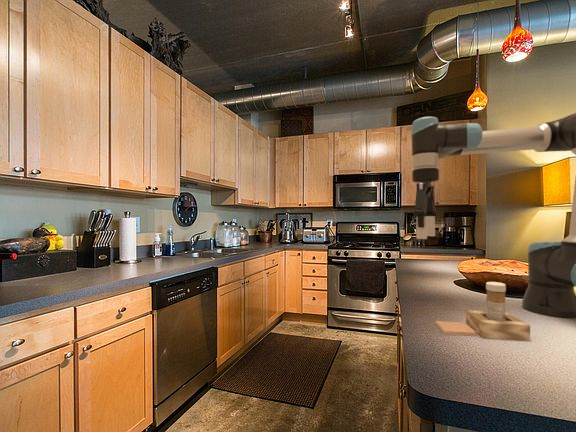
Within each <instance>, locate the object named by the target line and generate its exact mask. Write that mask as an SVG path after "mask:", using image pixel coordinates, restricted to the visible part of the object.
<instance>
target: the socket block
mask: <svg viewBox="0 0 576 432" xmlns="http://www.w3.org/2000/svg"><path fill="white" fill-rule="evenodd" d="M465 313H466V314H465V315H466V316H465V318H466V322H465V323H466V324H467V325H468V326H469V327H471V328H472V329H473V330H474V331H475V332H476V333H477V334H478V335H479V336H480V337H481V338H482V339H490V340H509V341H527V342H531V325H530V324H529V323H527V322H525V321H524V320H522V319H520V318H518V317H517V316H515V315H513V314H511V313H510V312H508V311H506V321H494V320H488V319H487V317H486V314H487V313H486V310H469V309H467V310H466V311H465Z"/></svg>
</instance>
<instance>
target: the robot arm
mask: <svg viewBox="0 0 576 432" xmlns="http://www.w3.org/2000/svg"><path fill="white" fill-rule="evenodd" d="M439 123H440V122H439V119H438V117H436V116H432V115H431V116H423V117H419V118H417V119H415V120H414V121H413V122H412V123H411V153H412V155H411V159H410V161H409V162H410V163H412V164H411V166H412V169H413V170H412V173H411V174H412V177H411V178H412V182H413V183H416V192H415V203H414V212H413V213H412V215H413V217H416V219H415V220H416V222H415V223H416V224H415V225H416V230H415V231H416V240H427V239H428V237H436V219H435V218H436V217H437V216H438V212H437V211H436V202H435V191H434V188H435V186H434V185H432V182H433V183H434V182H438V181H439V180H440V171H439V168H438V167H440V159H444V158H447V157H455V156H456V157H457V156H465V155H478V154H479V155H480V154H490V153H507V152H518V151H519V152H520V151H530V150H531V151H532V150H533V151H534V152H537V153H546V152H570V151H571V153H572V154H574V155H575V156H576V112H574V113H571V114H569V115H567V116H564V117H562V118H558V119H555V120H552V121H546V122H539V123H537V124H536V125H535V126H526V127H516V128H515V127H514V128H505V129H504V128H503V129H502V128H501V129H493V130H490V129H489V130H483V128H482V126H481V125H480V124H479V123H476V122H466V123H465V122H463V123H446V124H445V123H444V124H443V123H441V124H439ZM573 187H574V188H573V196H572V206H571V212H570V213H571V215H570V222H569V229H568V231H569V233H568V235H567V236H566V237H564V238H563V239H561V241H539V242H536V241H535V242H532V243H530V244H529V245H528V251H527V256H528V258H527V259H528V286H527V288H526V290H525V293H524V295H523V298H522V301H521V302H522V304H521V305H522V306H521V307H522V308H523V309H525V310H527V311H529V312H533V313H535V314H540V315H541V314H542V315H545V316H551V317H557V318H558V317H559V318H576V292H575V287H576V176H575V177H574V186H573Z"/></svg>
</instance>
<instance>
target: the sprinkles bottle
mask: <svg viewBox="0 0 576 432" xmlns="http://www.w3.org/2000/svg"><path fill="white" fill-rule="evenodd" d="M485 290H486V308H485V309H486V310H485V311H486V313H487V314H486V317H487V319H488V320H494V321H506V312H507V310H506V309H507V308H506V307H507V306H506V293H507V292H506V291H507V286H506V284H505V283H503V282H498V281H487V282H486V283H485Z"/></svg>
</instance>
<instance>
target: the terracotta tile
mask: <svg viewBox="0 0 576 432" xmlns="http://www.w3.org/2000/svg"><path fill="white" fill-rule="evenodd" d="M435 325H436V326H437V327H438V328H439V330H440V331H442V333H443V334H444V335H453V336H454V335H456V336H457V335H458V336H471V337H474V336H475V337H476V336H477V334H478V333H477V332H475V331H474V330H473V329H472V328H471V327H470V326H468V325H467V324H466V322H461V321H460V322H459V321H443V320H442V321H439V320H435Z"/></svg>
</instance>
